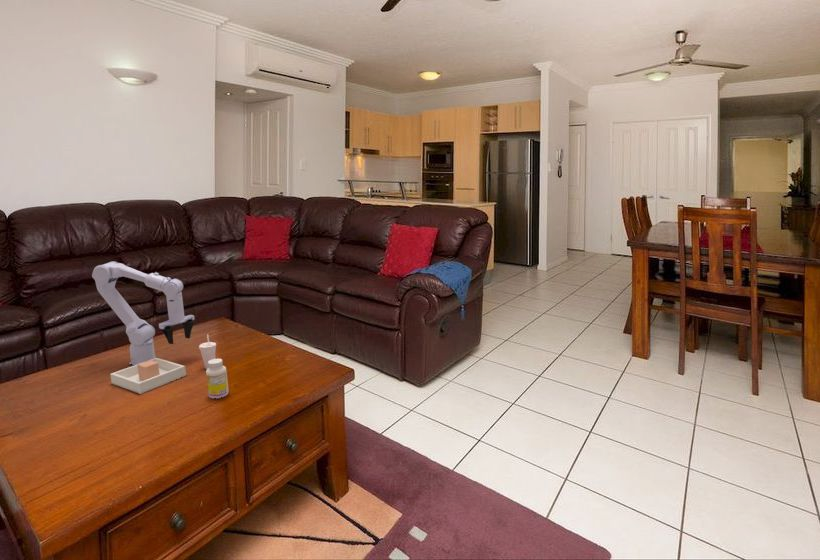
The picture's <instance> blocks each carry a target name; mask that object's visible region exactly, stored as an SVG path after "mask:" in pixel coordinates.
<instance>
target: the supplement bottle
mask: <svg viewBox="0 0 820 560" xmlns="http://www.w3.org/2000/svg"><path fill="white" fill-rule="evenodd" d="M223 363H224V361H223V359H222V358H215V359H212V360H210V361H208V366H209V368H208V369H206V371H205V376H206V384H207V394H208V397H209V398H210V399H214V398H216V399H222V398H225V397H226V396H227V395H228V394H229V393H230V392H229V383H228V382H229V381H228V374H227V373H228V371H227V367H226V366H225V365H223ZM221 397H222V398H221Z"/></svg>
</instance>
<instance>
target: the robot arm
mask: <svg viewBox="0 0 820 560" xmlns="http://www.w3.org/2000/svg"><path fill="white" fill-rule="evenodd" d="M91 277H92V279H93V280H94V281H95V286H96V290H97V292H98V294H100V296H101V297H102V298H103V300H104V301H105V302H106V303H107V304H108V306H109V307H110V308H111V310H112V311H113V312H114V313H115V314H116V315H117V317H118V318H119V319H120V321H121V322H122V323H123V324H124V325H125V327H126V328H125V334H126V335H127V337H128V341H129V342H130V346H129V355H130V362H128V364H129V365H131V364H132V366H134V365H137V364H140V363H143V362H146V361H149V360H151V359H154V358H156V352H155V345H154V344H155V343H154V338H153V337H154V336H155V335H156V329H155V327H154V326H153V325H151V324H149V323H148V322H147V321H146V320H145V319H141V318H140V317H139V316H138V315H137V314H136V313H135V311H134V310H133V308H132V307H131V306H130V305H129V303H128V302H127V301H126V300H125V298H124V297H123V296H122V294H120V292H119V291H118V289H116V283H117V280H118V279H119V278H122V277H124V278H128V279H132V280H135V281H140V282H142V283H144V285H145V286H146V287H149V288H151V289H154V290H157V291H160V292H163V294H164V295H165V296H166V305H167V314H168V320H165V321H163V322H160V323H158V328H159V329H160V330H161V332H162V334H163V335H164V337H165V339H166V340H167V343H168V344H170V345H173V344H174V335H173V334H174V328H172V326H175V325H179V324H182V327H183V332H184V337H185V339H191V333H192V330H193V327H194V325H195V315H193V314H188V315H185V309H184V300H183V293H182V291H183V290H184V283H183V282H182V280H180V279H178V278H173V279H172V278H171V277H169V276H167V277H165V276H163V275H160V273H159V272H151V273H145V272H142V271H140V270H137V269H135V268H132V267H129V266H127V265H125V264H124V263H121V262H117V261H109V262H107V263H104V264H99V265H96V266H95V267H94V268H93V271H92V273H91Z"/></svg>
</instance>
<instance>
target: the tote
mask: <svg viewBox="0 0 820 560" xmlns="http://www.w3.org/2000/svg"><path fill="white" fill-rule="evenodd" d="M149 361H150V360H149ZM151 361H154V362H157V363H158V367H159V374H160V375H157V376H155V377H152V378H150V379H147V380H144V381H142V380H139V374H138V367H137V365H138V364H137V365H132V366H128V367H127V368H126V367H125V368H123V369H120V370H117V371H115V372H112V373H111V372H110V380H111V381H110V382H111V384H112V385H114V386H117V387H120V388H122V389H124V390H128V391H131V392H133V393H136V394H138V395H142V394H144V393H147V392H149V391H152V390H154V389H155V390H156V388H159V387H162V386H164V385H167V384H169V383H172V382H175V381H176V379H177V380H179V379H181V377H182V378H184V377H186V376H187V372H186V365H182V364H179V363H177V362H172V361H169V360H167V359H163V358H159V357H155V358H154V359H151ZM146 362H147V361H146ZM143 363H144V362H143ZM140 364H141V363H140ZM171 381H172V382H171Z"/></svg>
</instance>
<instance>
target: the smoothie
mask: <svg viewBox="0 0 820 560" xmlns="http://www.w3.org/2000/svg"><path fill="white" fill-rule="evenodd" d="M206 338H207V342H203V343H200V344H199V345H198V349H199V350H200V354H201V358H202V362H203V365H204V366H203V367H204V369H206V370H207V369H208V368H209V366H208V361H210V360H212V359H216V349H217V348H216V347H217V343H216V342H213V341H210V336H209V333H208V334H207V333H206Z"/></svg>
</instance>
